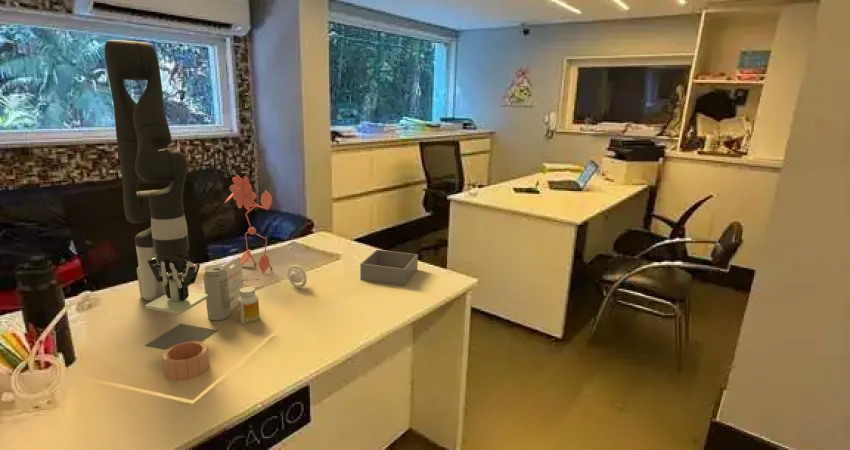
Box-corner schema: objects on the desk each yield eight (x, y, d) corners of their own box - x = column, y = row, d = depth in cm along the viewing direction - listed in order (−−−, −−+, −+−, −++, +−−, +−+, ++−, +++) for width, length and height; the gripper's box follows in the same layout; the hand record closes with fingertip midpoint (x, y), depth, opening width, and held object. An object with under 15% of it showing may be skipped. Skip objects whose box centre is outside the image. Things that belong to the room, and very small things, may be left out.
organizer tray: (360, 279, 161) (360, 263, 159) (376, 264, 176) (376, 249, 174) (404, 285, 157) (405, 269, 155) (417, 269, 172) (417, 254, 170)
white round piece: (284, 286, 153) (283, 264, 151) (296, 281, 158) (295, 259, 156) (302, 292, 149) (301, 269, 147) (314, 286, 154) (313, 263, 152)
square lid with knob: (145, 308, 113) (142, 284, 111) (176, 291, 122) (173, 269, 120) (180, 314, 110) (177, 291, 109) (208, 297, 120) (206, 275, 118)
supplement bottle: (264, 318, 131) (261, 287, 128) (251, 327, 126) (248, 294, 124) (248, 315, 133) (245, 284, 130) (235, 323, 128) (232, 291, 125)
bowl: (156, 378, 103) (153, 358, 101) (185, 357, 111) (183, 338, 110) (190, 385, 101) (187, 365, 99) (217, 363, 109) (215, 344, 108)
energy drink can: (214, 312, 134) (209, 264, 129) (234, 313, 133) (230, 265, 129) (204, 322, 128) (198, 272, 124) (225, 323, 128) (220, 273, 123)
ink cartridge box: (230, 299, 142) (226, 254, 138) (245, 301, 141) (241, 256, 137) (213, 311, 134) (208, 264, 130) (228, 313, 133) (224, 266, 129)
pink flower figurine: (243, 257, 178) (234, 168, 167) (289, 273, 164) (282, 176, 154) (206, 270, 165) (194, 174, 155) (252, 288, 152) (243, 184, 142)
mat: (144, 347, 115) (144, 345, 114) (180, 325, 126) (180, 323, 126) (185, 355, 112) (185, 353, 112) (218, 332, 123) (218, 330, 123)
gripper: (133, 234, 109) (142, 300, 114) (183, 242, 106) (190, 309, 111) (158, 225, 116) (166, 288, 121) (205, 232, 113) (211, 296, 118)
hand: (177, 298), depth 116 cm, fingers closed on square lid with knob, 3 cm apart
